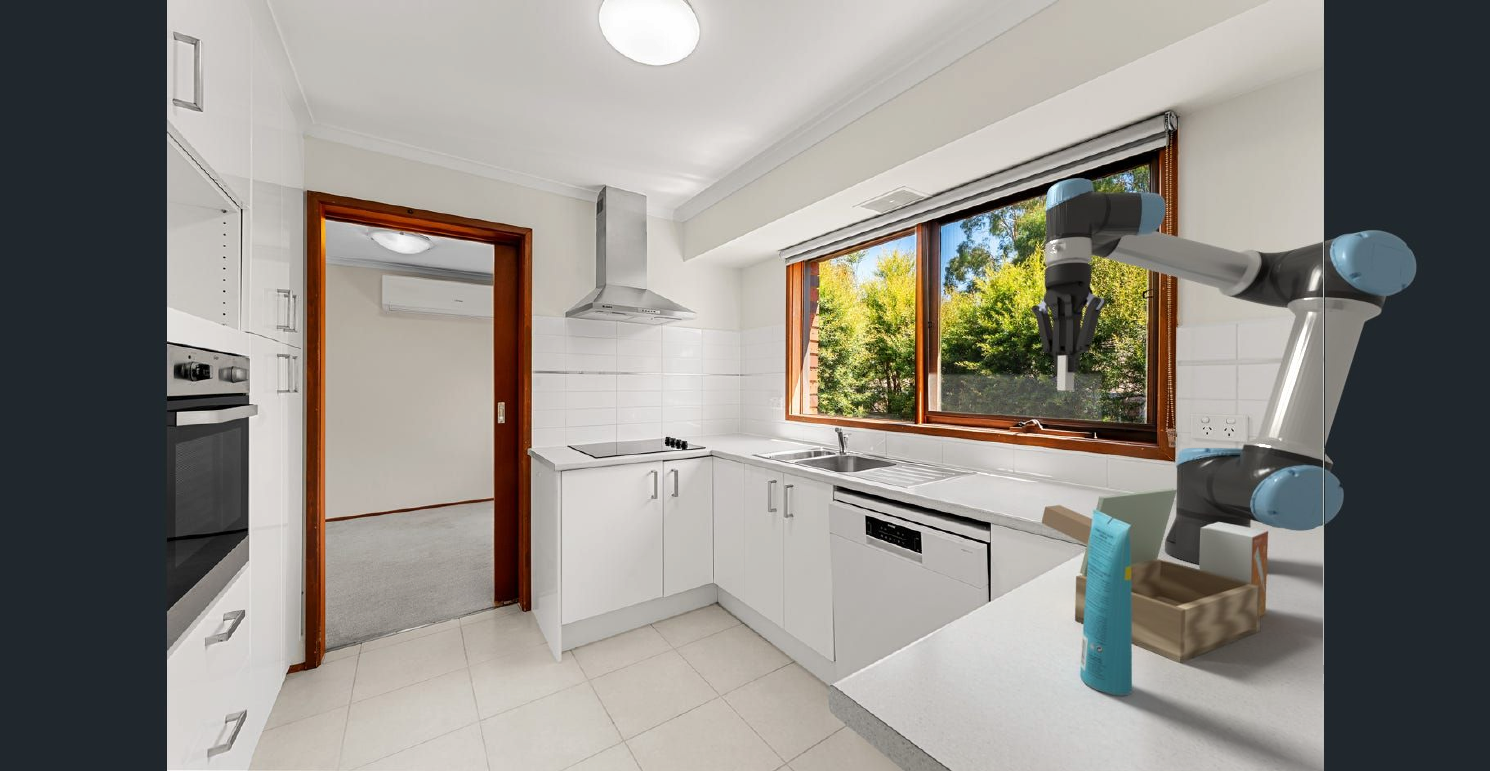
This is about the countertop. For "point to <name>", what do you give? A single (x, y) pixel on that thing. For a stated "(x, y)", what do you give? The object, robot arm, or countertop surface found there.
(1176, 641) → the crate
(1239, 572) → the small box
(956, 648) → the countertop surface
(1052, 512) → the lid
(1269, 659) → the countertop surface
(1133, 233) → the robot arm
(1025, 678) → the countertop surface
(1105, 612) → the tube
